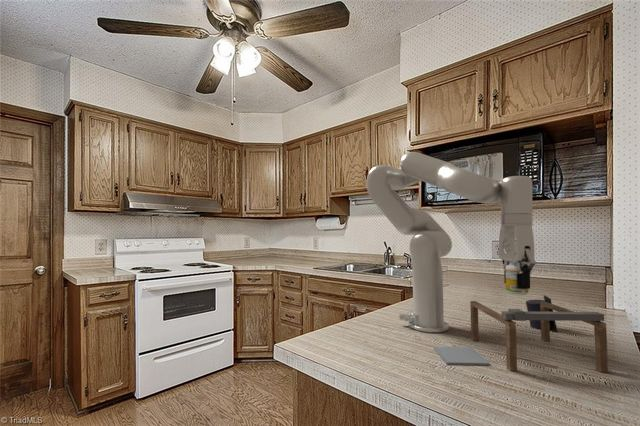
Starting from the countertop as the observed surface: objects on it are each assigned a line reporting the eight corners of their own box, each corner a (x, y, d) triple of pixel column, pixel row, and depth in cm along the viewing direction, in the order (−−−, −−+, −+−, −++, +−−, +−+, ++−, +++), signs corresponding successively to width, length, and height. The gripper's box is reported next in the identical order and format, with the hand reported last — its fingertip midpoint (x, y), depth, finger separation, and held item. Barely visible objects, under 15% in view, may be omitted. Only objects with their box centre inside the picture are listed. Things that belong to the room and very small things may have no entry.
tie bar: (507, 320, 74) (506, 311, 74) (500, 317, 77) (500, 308, 77) (605, 321, 73) (605, 312, 73) (595, 317, 76) (595, 309, 76)
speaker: (558, 327, 104) (553, 294, 105) (557, 332, 100) (552, 298, 100) (530, 324, 109) (526, 294, 109) (528, 330, 104) (523, 298, 105)
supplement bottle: (520, 290, 91) (519, 256, 92) (533, 295, 86) (532, 258, 86) (501, 290, 91) (501, 256, 92) (513, 295, 86) (513, 258, 86)
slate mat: (446, 364, 77) (446, 362, 77) (434, 348, 87) (434, 346, 87) (489, 365, 76) (489, 363, 76) (471, 349, 86) (471, 347, 86)
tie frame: (510, 371, 73) (509, 322, 74) (471, 338, 94) (470, 301, 95) (608, 372, 72) (606, 323, 73) (546, 339, 93) (545, 301, 94)
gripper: (487, 220, 98) (488, 280, 97) (520, 220, 81) (520, 292, 80) (513, 221, 98) (513, 280, 97) (551, 220, 80) (551, 293, 80)
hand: (516, 285), depth 89 cm, fingers closed on supplement bottle, 5 cm apart
